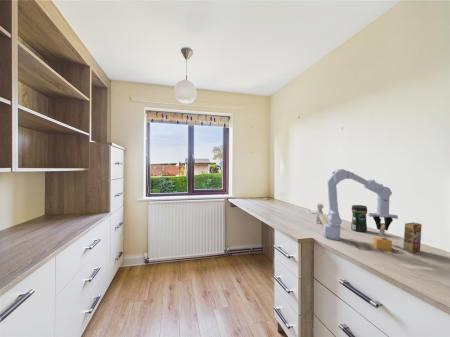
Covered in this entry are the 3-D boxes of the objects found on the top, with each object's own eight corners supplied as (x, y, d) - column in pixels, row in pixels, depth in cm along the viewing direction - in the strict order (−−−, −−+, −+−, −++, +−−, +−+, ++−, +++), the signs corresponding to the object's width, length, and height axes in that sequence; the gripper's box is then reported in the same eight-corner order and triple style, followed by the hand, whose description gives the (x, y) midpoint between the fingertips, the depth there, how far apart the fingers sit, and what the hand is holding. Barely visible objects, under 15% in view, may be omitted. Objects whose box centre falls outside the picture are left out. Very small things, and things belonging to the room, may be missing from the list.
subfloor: (360, 253, 111) (360, 251, 111) (348, 241, 129) (348, 239, 129) (405, 258, 106) (405, 256, 106) (386, 245, 124) (386, 243, 124)
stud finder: (376, 248, 116) (377, 239, 116) (373, 245, 119) (373, 236, 119) (391, 250, 114) (391, 240, 114) (387, 247, 118) (388, 238, 118)
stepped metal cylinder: (380, 236, 124) (380, 224, 124) (377, 234, 127) (377, 222, 127) (386, 236, 123) (387, 224, 123) (383, 234, 127) (384, 223, 127)
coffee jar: (361, 229, 159) (362, 204, 159) (368, 232, 151) (369, 206, 151) (348, 228, 159) (349, 204, 159) (355, 231, 151) (356, 205, 151)
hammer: (334, 220, 143) (322, 203, 172) (326, 219, 144) (316, 203, 173) (331, 241, 147) (320, 221, 175) (324, 240, 147) (314, 220, 176)
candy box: (412, 253, 113) (413, 225, 113) (402, 250, 117) (403, 223, 117) (421, 251, 117) (422, 223, 117) (411, 248, 121) (412, 221, 121)
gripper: (372, 206, 123) (371, 230, 123) (401, 208, 120) (400, 232, 120) (367, 205, 130) (366, 227, 130) (394, 206, 127) (393, 229, 127)
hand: (382, 229), depth 125 cm, fingers closed on stepped metal cylinder, 3 cm apart
